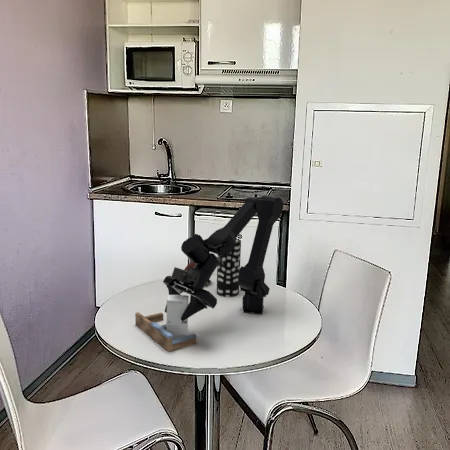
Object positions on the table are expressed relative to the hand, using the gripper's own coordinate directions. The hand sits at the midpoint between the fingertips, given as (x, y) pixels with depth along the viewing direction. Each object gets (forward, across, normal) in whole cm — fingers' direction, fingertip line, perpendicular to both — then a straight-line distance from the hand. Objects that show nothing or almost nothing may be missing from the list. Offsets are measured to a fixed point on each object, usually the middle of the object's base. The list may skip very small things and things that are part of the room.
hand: (173, 316), depth 140 cm
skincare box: (+4, 0, +6) cm, 7 cm away
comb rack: (+5, -5, +6) cm, 10 cm away
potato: (-20, -31, +32) cm, 49 cm away
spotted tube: (-22, -17, +34) cm, 44 cm away
